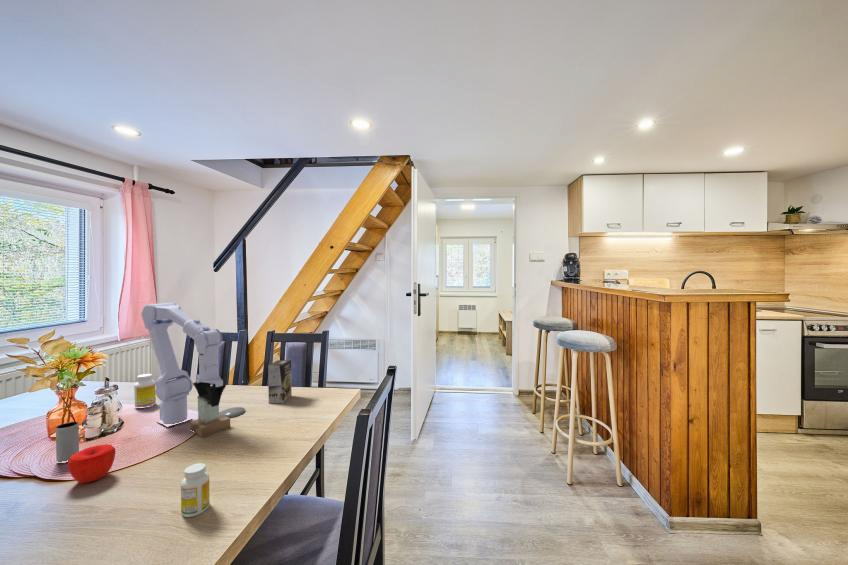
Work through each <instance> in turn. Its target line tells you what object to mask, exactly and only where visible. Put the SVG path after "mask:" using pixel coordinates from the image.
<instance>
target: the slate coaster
mask: <svg viewBox="0 0 848 565" xmlns="http://www.w3.org/2000/svg"><path fill="white" fill-rule="evenodd" d="M244 413H246V409H245V408H244V407H241V406H236V407H230V408H226V409H223V410H221V411H219V414H221V415H223V416H226V417H228V418H230V419H232V418H236V417H239V416H241V415H243V414H244Z"/></svg>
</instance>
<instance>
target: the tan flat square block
mask: <svg viewBox="0 0 848 565" xmlns="http://www.w3.org/2000/svg"><path fill="white" fill-rule="evenodd" d="M230 427H231V418H228V417H226V416H223V415H221V414H219V420H217V421H214V422H211V423H208V424H205V425H204V424H202V423H200V422H198V418H197V419H195V420H190V421H189V431H190V430H192V431H194V432H195V433H196V434H195V433H194V434H195V435H197V436H199V437H201V438H204V437H207V436H210V435H213V434H215V433H218V432H220V431H222V430H225V429H228V428H230ZM192 431H191V432H192Z"/></svg>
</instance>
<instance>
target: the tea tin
mask: <svg viewBox="0 0 848 565" xmlns="http://www.w3.org/2000/svg"><path fill="white" fill-rule="evenodd" d="M219 412H220V404H219V405H217V406H214V407H212V406H211V403H210V397H209V393H208V394H204V395H201V396H199V395H198V396H197V419H198V422H200V423H202V424H204V425H205V424H208V423H211V422H214V421H217V420H219Z"/></svg>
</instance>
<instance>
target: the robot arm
mask: <svg viewBox="0 0 848 565" xmlns="http://www.w3.org/2000/svg"><path fill="white" fill-rule="evenodd" d="M140 315H141V318H142V321H143V325H144V327H145V329H147V330H148V333H149V337H150V340H151V344H152V346H153V350H154V353H155V357H156V361H157V363H158V365H159V370H160V373H161V375H159V377H157V379H156V380H155V393H156V397H157V398H158V400H160V402H159V404H158V405H159V420H162V421H163V423H164V424H175V423H179V422H182V421H184V420H186V419H187V416H188V396H189V395H190V392H191V391H192V390H193V387H194V388H195V389H196V391H197V394H198V396H201V395H204V394H208V393H209V397H210V403H211V406H212V407H214V406H217V405H219V406H220V403H221V402H220V401H221V398H222V395H223V392H224V390H225V388H226V386H227V385H226V384H225V383H224V380H223V379H222V378H221V377H220V375H219V374H220V371H219V370H220V368H219V366H220V365H219V364H220V361H219V346H220V344H222V341H223V334H222V332H221V331H220V330H219V329H218V328H210V326H209V327H208V325H205V323H203V322H201V320H200V319H198V318H197V319H196V318H195V319H191V318H190V317H189V316H188V315H187V314H186V313H184V312H183V311H182V308H181V306H180V305H179V304H178V303H176V301H172V302H165V303H148V304H147V303H146V304H145V305H144V306H143V308H142V312H141V314H140ZM174 323H175V324H177V325H179V326H180V327H181V328H182V332H183V333H184V334H186V336H188V337H189V338H191V339H192V340H193V342H194V345H195V347H196V352H197V354H198V369H199V370H198V373H197V374H196V375H195V382H193V381H192V378H191V376H189V373H188V371H186V370H182V369H181V368H180V367H179V365H178V361H177V359H176V354H175V351H174V348H173V345H172V342H171V339H170V335H169V332H168V328H169V327H171V326H172V325H173V324H174Z"/></svg>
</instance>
